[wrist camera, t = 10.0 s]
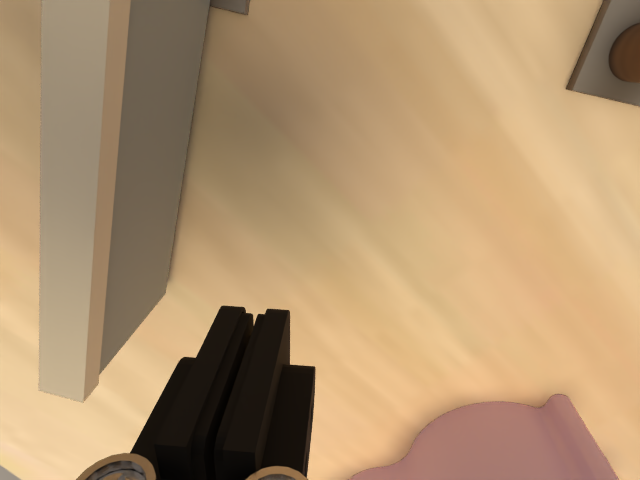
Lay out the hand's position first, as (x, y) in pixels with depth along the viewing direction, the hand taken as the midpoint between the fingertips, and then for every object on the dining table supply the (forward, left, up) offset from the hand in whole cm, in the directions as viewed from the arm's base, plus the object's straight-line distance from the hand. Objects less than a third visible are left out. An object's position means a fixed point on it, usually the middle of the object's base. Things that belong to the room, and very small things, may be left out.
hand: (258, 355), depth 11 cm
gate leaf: (0, -8, -14) cm, 16 cm away
